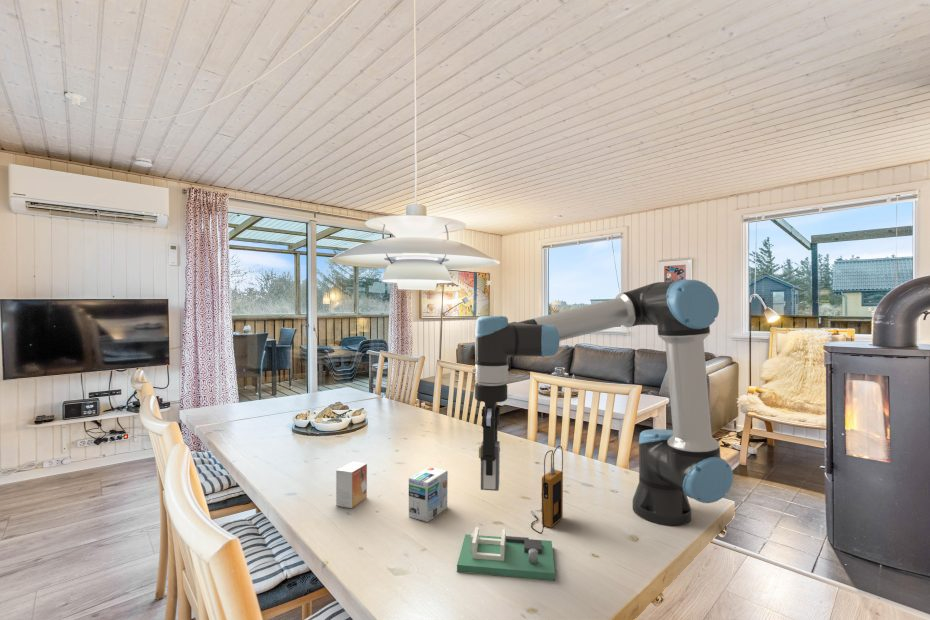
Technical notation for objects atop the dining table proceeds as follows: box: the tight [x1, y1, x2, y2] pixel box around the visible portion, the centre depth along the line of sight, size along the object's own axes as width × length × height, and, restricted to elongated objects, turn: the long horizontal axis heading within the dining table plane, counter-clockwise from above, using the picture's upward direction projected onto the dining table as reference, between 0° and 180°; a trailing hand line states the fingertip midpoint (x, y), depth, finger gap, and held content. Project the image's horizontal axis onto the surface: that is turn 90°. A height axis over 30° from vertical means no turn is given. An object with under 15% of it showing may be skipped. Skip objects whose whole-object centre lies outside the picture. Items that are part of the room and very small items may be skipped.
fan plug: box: [478, 440, 501, 492], centre depth 101 cm, size 5×4×10 cm
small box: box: [335, 461, 368, 509], centre depth 130 cm, size 8×6×10 cm
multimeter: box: [529, 445, 564, 534], centre depth 119 cm, size 15×10×20 cm
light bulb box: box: [408, 466, 449, 523], centre depth 123 cm, size 11×7×11 cm, turn 151°
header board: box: [456, 526, 556, 581], centre depth 100 cm, size 21×13×5 cm, turn 82°
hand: (490, 483), depth 101 cm, fingers closed on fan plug, 4 cm apart
